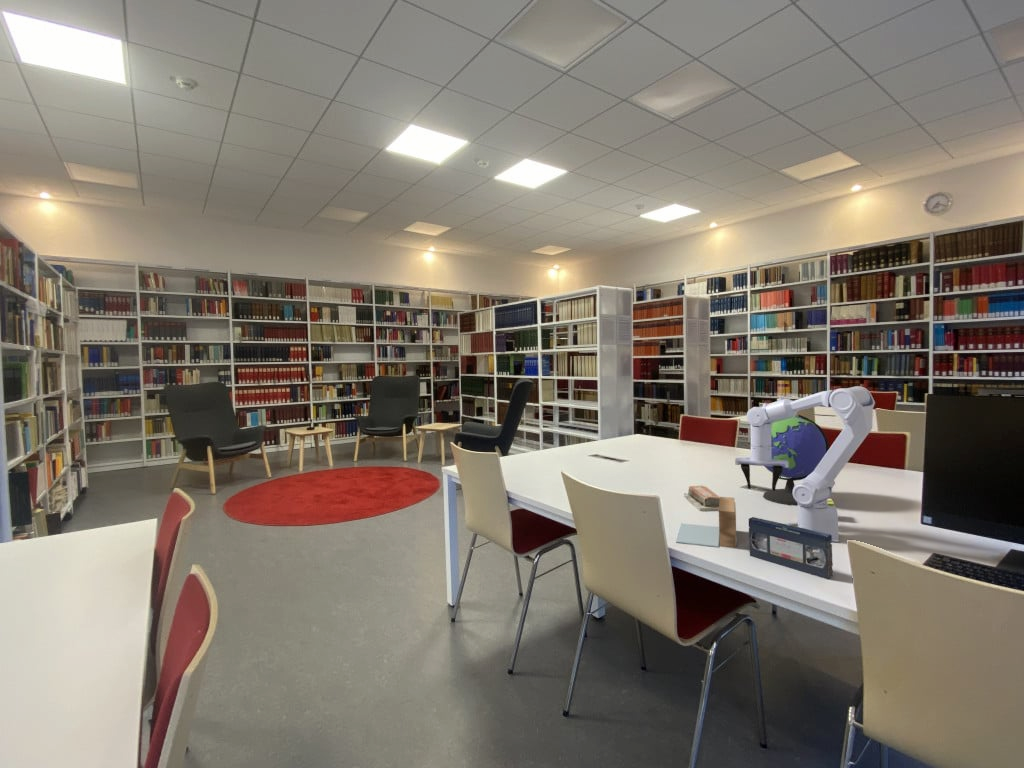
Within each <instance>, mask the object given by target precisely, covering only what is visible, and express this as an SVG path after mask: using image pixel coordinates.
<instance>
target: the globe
mask: <svg viewBox="0 0 1024 768" xmlns="http://www.w3.org/2000/svg"><path fill="white" fill-rule="evenodd" d="M771 441H772V459H779V460H788V462H789V468H785V467H782V468H783V471H782V473H781V475H780V477H779V479H778V480H784V481H786V482H785V487H784V488H775V491H773V490H772V489H769V490H767V491H765V492H763V495H762V497H763V499H765V500H766V501H768V502H772V503H776V504H779V505H786V506H797V507H798V503H797V501H796V500H795V499H794V497H793V493H792V492H793V488H794V487H795V486H796V485H795V482H796V481H801V480H802V481H803V480H804V479H805V478H806V477H807V476H808V475H810V474H811V473H812V472H813V471H814V470H815V468H816V467H817V466H818V464H819V463H820V461H821V460H822V458H823V457H824V456H825V454H826V453H827V451H828V450H829V449H830V445H829V438H828V436H827V434H826V432H825V431H824V430H823V428H822V427H821V426H820V425H819V424H817V423H816V422H815V421H813V420H811V419H810V418H807V417H806V416H803V415H801V414H798V415H795V417H792V418H789V419H785V420H781V421H777V422H773V423H772V428H771ZM763 467H764V468H765V469H766V470H767V471H768V472H771V473H772V466H763ZM794 481H795V482H794Z"/></svg>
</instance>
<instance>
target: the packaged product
mask: <svg viewBox="0 0 1024 768" xmlns="http://www.w3.org/2000/svg"><path fill="white" fill-rule="evenodd" d="M683 497H684V498H685V499H686V500H687V501H688V503H690V504H691V505H692V506H694V507H695V508H696V509H697V510H698V511H699V512H717V511H718V512H719V500H720V497H721V496H719V495H718V494H716V493H715V492H714V491H712V490H711V489H710V488H709V487H708V486H705V485H691V486H688V492H687V493H684V494H683Z"/></svg>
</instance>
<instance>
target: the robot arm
mask: <svg viewBox="0 0 1024 768" xmlns="http://www.w3.org/2000/svg"><path fill="white" fill-rule="evenodd" d="M875 401H876V400H874V397H873V396H872V393H871V392H870V391H869V390H868V388H866V387H864V386H859V385H855V386H852V387H847V388H846V387H845V388H840V387H839V388H836V389H830V390H823V391H819V392H816V393H814V394H810V395H807V396H805V397H804V396H803V397H802V398H799V399H796V400H792V399H789V398H784V397H779V398H777V399H776V401H774V402H773V401H772V402H770V403H768V402H764V403H762V406H753V407H752V408H750V409H749V410H747V412H746V415H745V416H746V420H747V422H748V424H750V457H735V458H734V460H735V461H734V464H735V466H740V468H741V471H742V472H743V475H744V478H745V480H746V484H747V489H749V490H750V489H751V488H752V487H751V467H750V466H756V467H757V466H759V467H764V466H772V472H771V473H772V474H771V475H772V478H771V479H772V480H771V481H772V482H771V490H773V491H775V489H777V488H776V487H777V483H778V480H780V479H779V477H780V475H781V473H782V471H783V468H782V467H785V468H789V462H788V460H779V459H772V441H771V428H772V423H773V422H777V421H781V420H785V419H789V418H792V417H795V416H797V413H798V412H800V411H804V410H807V409H813V408H816V407H820V406H823V407H826V408H832V410H833V411H834V412H835V413H836V414H837V415H838V416H839V418H840V419H841V420H842V423H843V425H844V427H843V429H842V430H841V432H840V433H839V435H838V436H837V437H836V438H835V440H834V441H833V443H832V444H831V446H829V450H828V451H827V453H826V454H825V456H824V457H823V458H822V460H821V461H820V463H819V464H818V466H817V467H816V468H815V470H814V471H813V472H812V473H811V474H810V475H808V476H807V477H806V478H805V479H802V481H801V482H799V483H797V484H796V485H795V487H794V488H793V492H792V493H793V497H794V499H795V500H796V501H797V503H798V506H797V527H800V528H804V529H808V530H813V531H817V532H822V533H825V534H830V535H832V542H835V543H839V542H840V540H839V516H838V515H839V514H838V510H837V507H836V506H835V505H834V506H829V505H828V503H827V499H831V497H832V494H833V488H834V486H835V485H836V481H835V479H836V478H837V477H838V476H839V474H840V473H841V471H842V470H843V469H844V468H845V466H846V464H847V463H848V462H849V461H850V459H851V458H852V457H853V456H854V454H855V452H856V451H857V450H858V448H859V447H860V446H861V444H862V443H863V442H864V441H865V439H866V438H867V436H868V435H869V434H870V432H871V431H872V429H873V421H874V419H873V416H874V415H873V414H874V411H873V410H874V406H875V405H876V402H875Z"/></svg>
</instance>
